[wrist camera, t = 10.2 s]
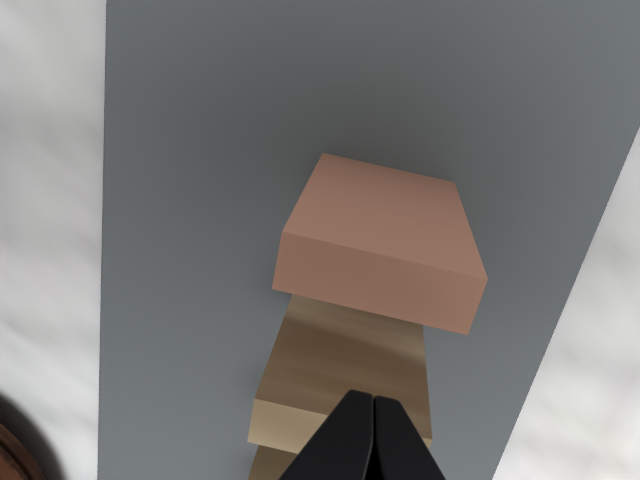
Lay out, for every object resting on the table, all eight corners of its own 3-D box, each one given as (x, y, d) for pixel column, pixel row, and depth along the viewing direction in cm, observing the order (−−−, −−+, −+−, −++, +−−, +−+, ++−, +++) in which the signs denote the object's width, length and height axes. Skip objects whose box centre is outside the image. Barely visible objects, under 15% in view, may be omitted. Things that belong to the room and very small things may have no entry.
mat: (99, 564, 32) (95, 571, 32) (114, -106, 18) (108, -109, 18) (419, 645, 31) (419, 652, 31) (685, 2, 17) (691, 2, 17)
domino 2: (410, 331, 23) (417, 482, 16) (294, 305, 23) (247, 441, 16) (420, 298, 22) (432, 439, 15) (300, 272, 22) (254, 398, 15)
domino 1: (442, 221, 21) (467, 335, 14) (314, 192, 21) (271, 289, 14) (454, 182, 20) (487, 279, 13) (322, 152, 20) (282, 231, 13)
